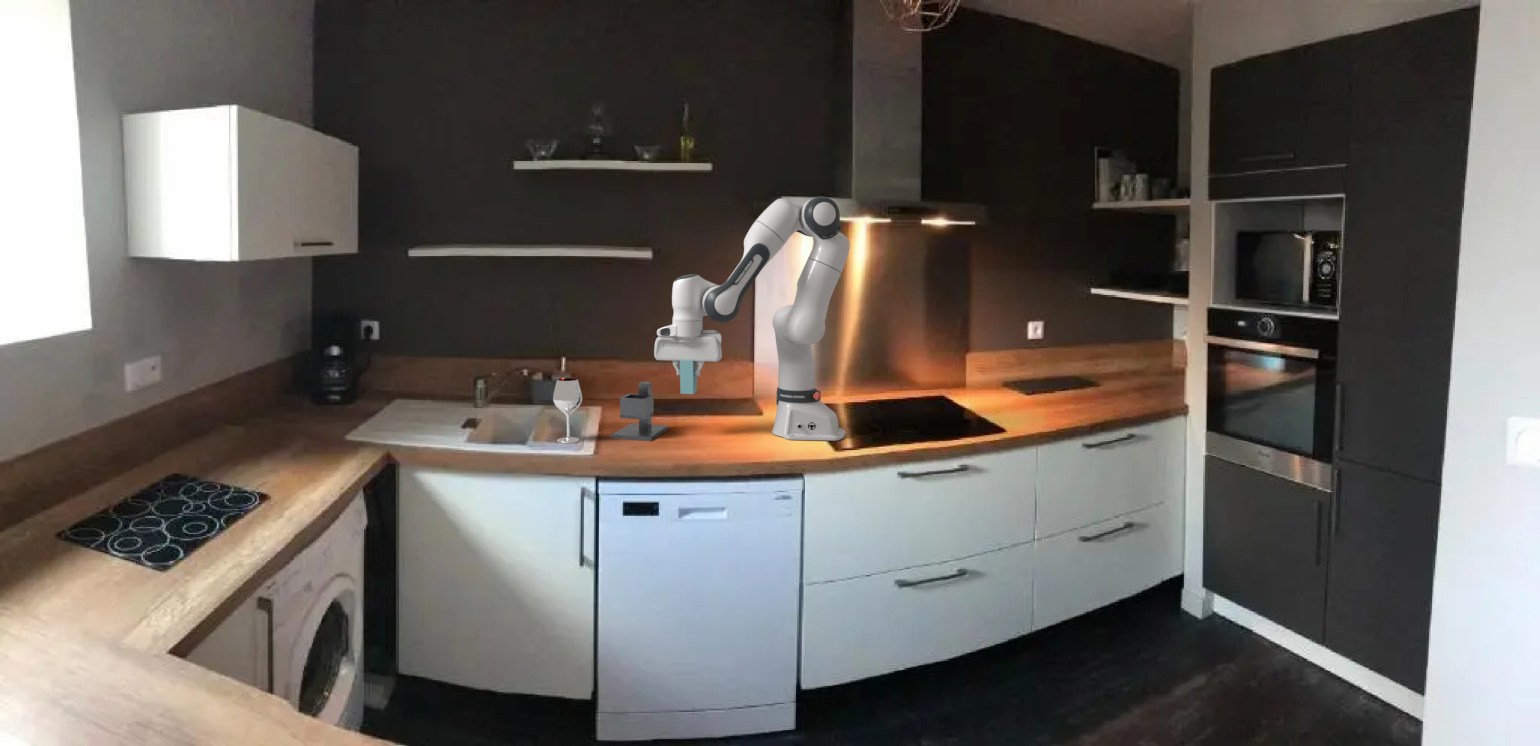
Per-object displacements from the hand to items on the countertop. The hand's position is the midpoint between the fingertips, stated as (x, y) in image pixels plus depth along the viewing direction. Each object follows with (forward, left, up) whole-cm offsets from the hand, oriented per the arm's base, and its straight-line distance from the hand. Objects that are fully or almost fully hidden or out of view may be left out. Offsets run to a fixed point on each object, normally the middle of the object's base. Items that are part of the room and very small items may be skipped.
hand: (688, 375), depth 257 cm
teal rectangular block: (0, 0, -5) cm, 5 cm away
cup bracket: (+14, +2, -18) cm, 23 cm away
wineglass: (+31, +16, -18) cm, 40 cm away
